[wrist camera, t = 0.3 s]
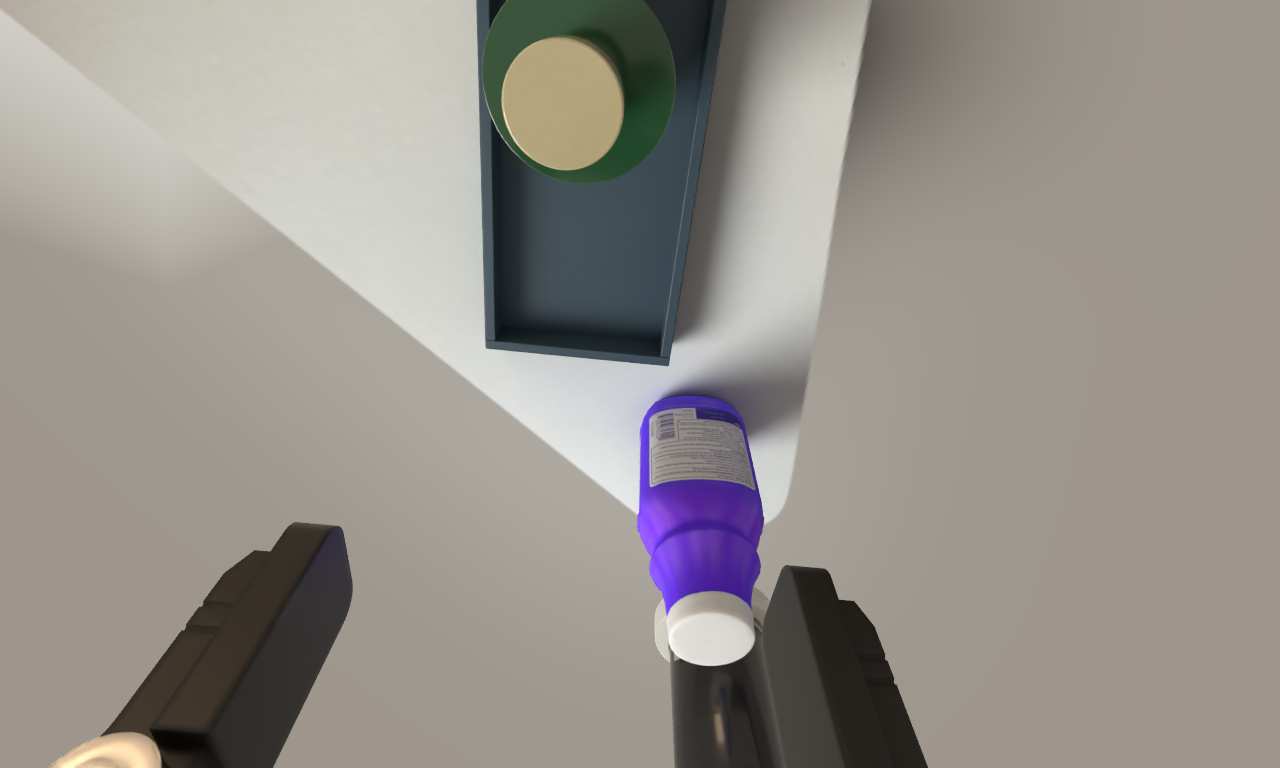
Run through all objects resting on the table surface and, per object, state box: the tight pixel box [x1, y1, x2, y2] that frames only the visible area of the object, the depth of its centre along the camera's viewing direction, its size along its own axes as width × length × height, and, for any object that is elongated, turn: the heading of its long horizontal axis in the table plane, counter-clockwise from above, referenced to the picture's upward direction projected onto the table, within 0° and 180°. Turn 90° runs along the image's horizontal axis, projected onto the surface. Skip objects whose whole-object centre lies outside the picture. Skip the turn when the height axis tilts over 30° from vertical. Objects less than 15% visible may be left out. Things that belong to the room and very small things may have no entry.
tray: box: [476, 0, 727, 366], centre depth 30 cm, size 32×11×3 cm, turn 174°
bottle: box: [637, 396, 764, 666], centre depth 35 cm, size 7×6×17 cm
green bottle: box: [482, 0, 676, 184], centre depth 23 cm, size 6×6×17 cm
